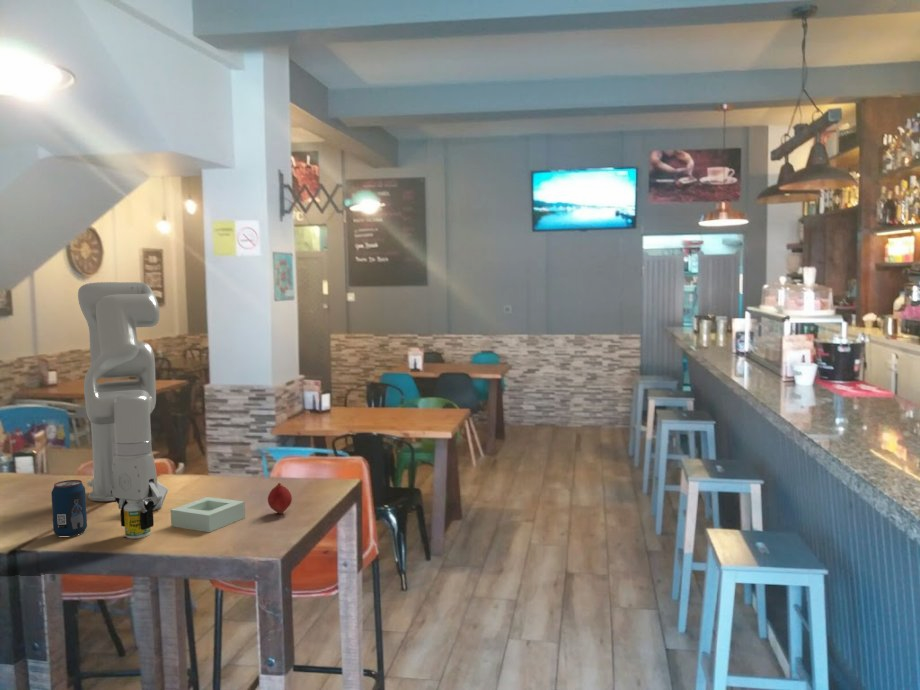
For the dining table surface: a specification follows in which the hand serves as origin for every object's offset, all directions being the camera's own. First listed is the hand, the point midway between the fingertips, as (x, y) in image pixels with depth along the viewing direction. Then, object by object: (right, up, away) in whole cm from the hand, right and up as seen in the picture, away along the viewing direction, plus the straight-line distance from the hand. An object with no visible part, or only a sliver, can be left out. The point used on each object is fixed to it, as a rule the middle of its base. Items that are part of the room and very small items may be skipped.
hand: (137, 525), depth 167 cm
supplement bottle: (0, -2, 0) cm, 2 cm away
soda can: (-17, -3, +2) cm, 17 cm away
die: (-6, -1, +21) cm, 21 cm away
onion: (+29, -1, +15) cm, 33 cm away
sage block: (+13, -1, +10) cm, 16 cm away
